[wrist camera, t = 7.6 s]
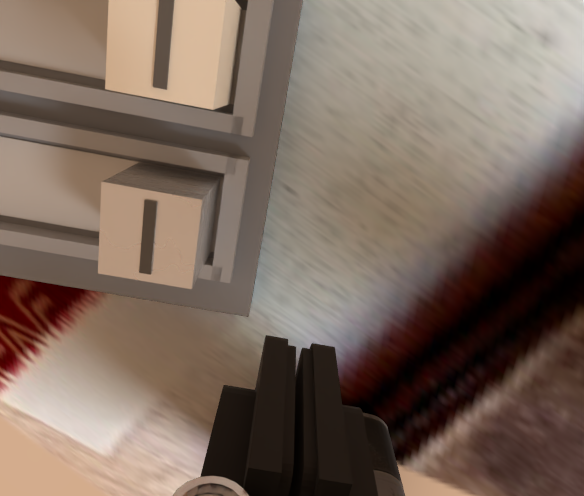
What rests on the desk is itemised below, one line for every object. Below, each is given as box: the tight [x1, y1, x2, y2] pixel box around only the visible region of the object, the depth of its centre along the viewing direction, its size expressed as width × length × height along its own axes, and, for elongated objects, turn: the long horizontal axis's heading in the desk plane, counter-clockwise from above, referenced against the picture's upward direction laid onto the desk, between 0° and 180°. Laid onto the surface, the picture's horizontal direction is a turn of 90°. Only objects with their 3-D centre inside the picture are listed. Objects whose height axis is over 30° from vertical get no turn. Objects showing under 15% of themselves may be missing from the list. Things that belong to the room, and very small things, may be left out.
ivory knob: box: [105, 0, 242, 110], centre depth 18 cm, size 4×4×5 cm
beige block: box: [98, 163, 220, 289], centre depth 21 cm, size 4×4×5 cm
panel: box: [0, 0, 303, 317], centre depth 19 cm, size 17×25×6 cm
